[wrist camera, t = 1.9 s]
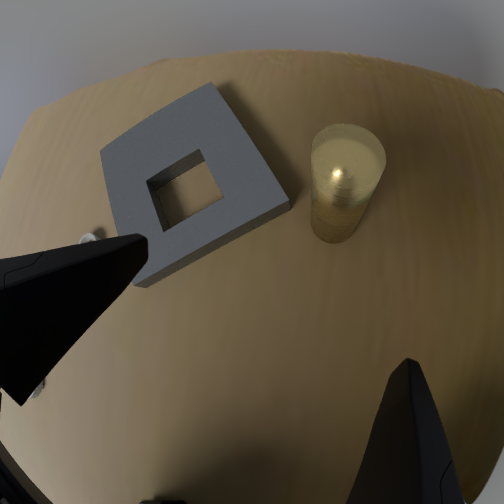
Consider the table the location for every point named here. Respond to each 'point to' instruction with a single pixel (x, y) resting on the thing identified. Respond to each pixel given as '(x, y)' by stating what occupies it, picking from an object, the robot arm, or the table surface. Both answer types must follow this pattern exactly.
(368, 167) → the pin
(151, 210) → the slot plate
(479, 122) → the table surface
